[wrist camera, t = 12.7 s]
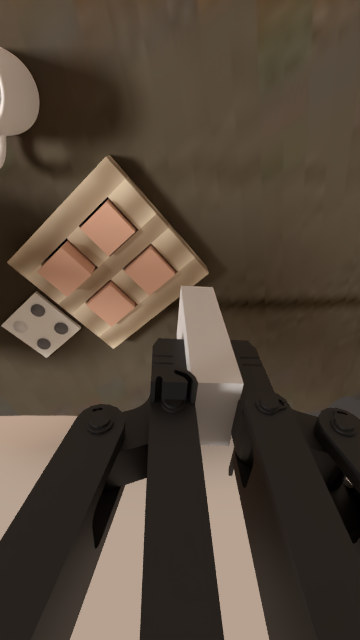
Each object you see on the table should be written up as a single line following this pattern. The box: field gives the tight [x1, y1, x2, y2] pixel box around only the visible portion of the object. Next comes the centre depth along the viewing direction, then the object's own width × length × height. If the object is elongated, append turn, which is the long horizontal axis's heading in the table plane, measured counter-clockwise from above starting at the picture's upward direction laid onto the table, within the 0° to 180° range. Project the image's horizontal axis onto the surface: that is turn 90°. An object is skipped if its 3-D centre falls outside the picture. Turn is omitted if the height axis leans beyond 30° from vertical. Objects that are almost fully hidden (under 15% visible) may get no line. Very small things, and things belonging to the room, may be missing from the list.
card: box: [1, 291, 81, 358], centre depth 52 cm, size 9×9×1 cm
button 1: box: [37, 240, 96, 297], centre depth 44 cm, size 5×5×4 cm
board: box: [7, 155, 209, 349], centre depth 46 cm, size 20×20×3 cm
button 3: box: [80, 199, 136, 256], centre depth 43 cm, size 5×5×4 cm
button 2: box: [86, 279, 136, 327], centre depth 48 cm, size 5×5×4 cm
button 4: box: [125, 244, 175, 296], centre depth 46 cm, size 5×5×4 cm
